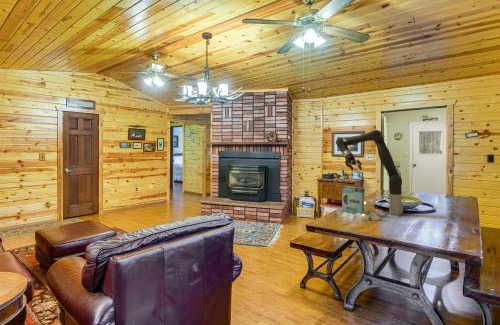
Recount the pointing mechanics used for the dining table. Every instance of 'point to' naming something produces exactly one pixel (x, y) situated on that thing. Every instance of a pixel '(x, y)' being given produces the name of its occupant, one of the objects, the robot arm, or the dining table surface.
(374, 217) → the base
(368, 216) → the scale pan
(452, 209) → the dining table surface
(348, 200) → the gum box
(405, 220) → the dining table surface
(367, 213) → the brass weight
